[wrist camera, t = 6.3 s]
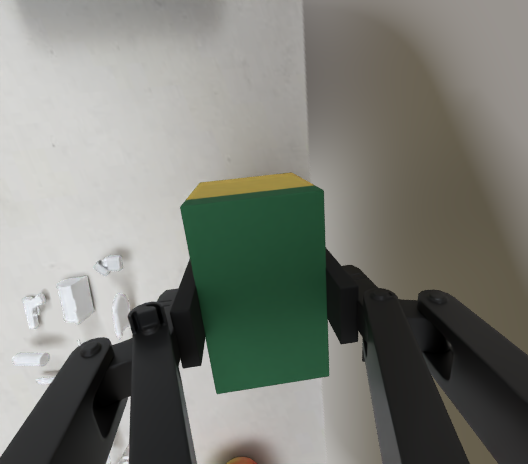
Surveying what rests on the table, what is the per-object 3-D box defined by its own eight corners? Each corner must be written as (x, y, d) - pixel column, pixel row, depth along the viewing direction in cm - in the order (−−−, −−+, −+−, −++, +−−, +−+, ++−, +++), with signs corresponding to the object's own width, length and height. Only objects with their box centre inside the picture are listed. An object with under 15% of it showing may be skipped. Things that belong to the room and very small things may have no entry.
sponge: (199, 182, 18) (179, 206, 11) (291, 172, 18) (324, 189, 12) (221, 315, 21) (216, 394, 15) (300, 304, 22) (329, 376, 15)
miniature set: (170, 487, 39) (86, 483, 40) (135, 246, 31) (29, 248, 32) (150, 548, 33) (50, 543, 34) (98, 268, 25) (-33, 269, 25)
